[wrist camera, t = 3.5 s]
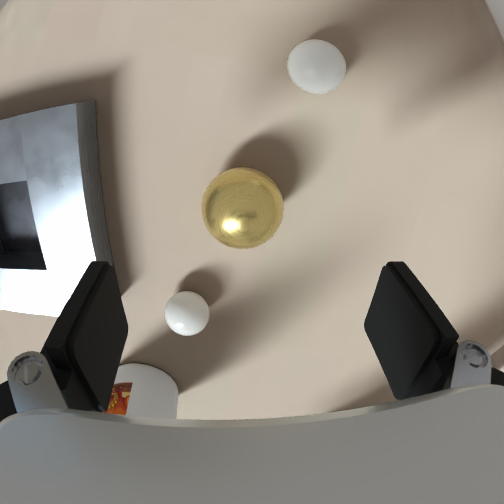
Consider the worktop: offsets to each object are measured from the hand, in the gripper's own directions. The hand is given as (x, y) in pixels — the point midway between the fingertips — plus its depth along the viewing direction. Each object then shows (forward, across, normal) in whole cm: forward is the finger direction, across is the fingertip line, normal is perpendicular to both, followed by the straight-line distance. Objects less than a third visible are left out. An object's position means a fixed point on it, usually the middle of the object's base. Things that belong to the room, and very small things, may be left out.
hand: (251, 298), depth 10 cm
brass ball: (+10, 0, +1) cm, 10 cm away
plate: (+12, +18, +2) cm, 22 cm away
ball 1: (+10, +4, +10) cm, 15 cm away
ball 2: (+10, -4, -8) cm, 14 cm away
